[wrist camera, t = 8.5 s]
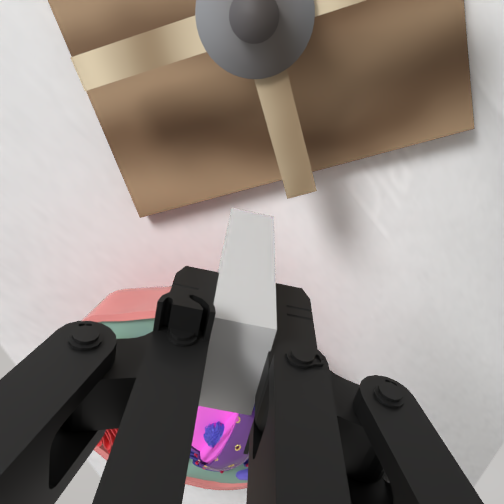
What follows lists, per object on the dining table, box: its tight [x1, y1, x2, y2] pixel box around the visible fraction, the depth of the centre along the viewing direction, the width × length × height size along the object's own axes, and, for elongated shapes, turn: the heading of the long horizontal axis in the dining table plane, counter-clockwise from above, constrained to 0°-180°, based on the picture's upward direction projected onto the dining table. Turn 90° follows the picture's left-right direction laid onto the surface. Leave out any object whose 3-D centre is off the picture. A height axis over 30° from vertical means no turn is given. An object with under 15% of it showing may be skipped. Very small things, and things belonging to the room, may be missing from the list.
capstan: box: [71, 0, 366, 199], centre depth 24 cm, size 22×20×4 cm
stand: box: [48, 0, 474, 218], centre depth 28 cm, size 21×24×4 cm
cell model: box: [81, 286, 255, 490], centre depth 37 cm, size 17×20×11 cm
